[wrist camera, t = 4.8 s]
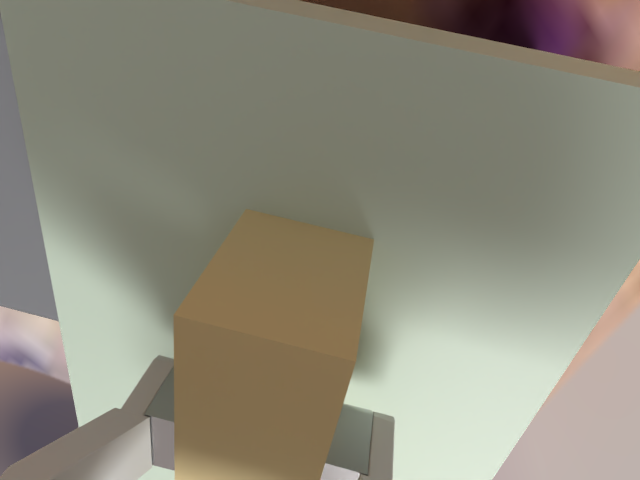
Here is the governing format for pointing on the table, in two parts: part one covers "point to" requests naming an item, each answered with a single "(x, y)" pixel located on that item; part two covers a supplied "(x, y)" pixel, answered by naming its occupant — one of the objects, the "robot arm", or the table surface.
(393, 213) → the lid
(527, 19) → the table surface
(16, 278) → the mat
